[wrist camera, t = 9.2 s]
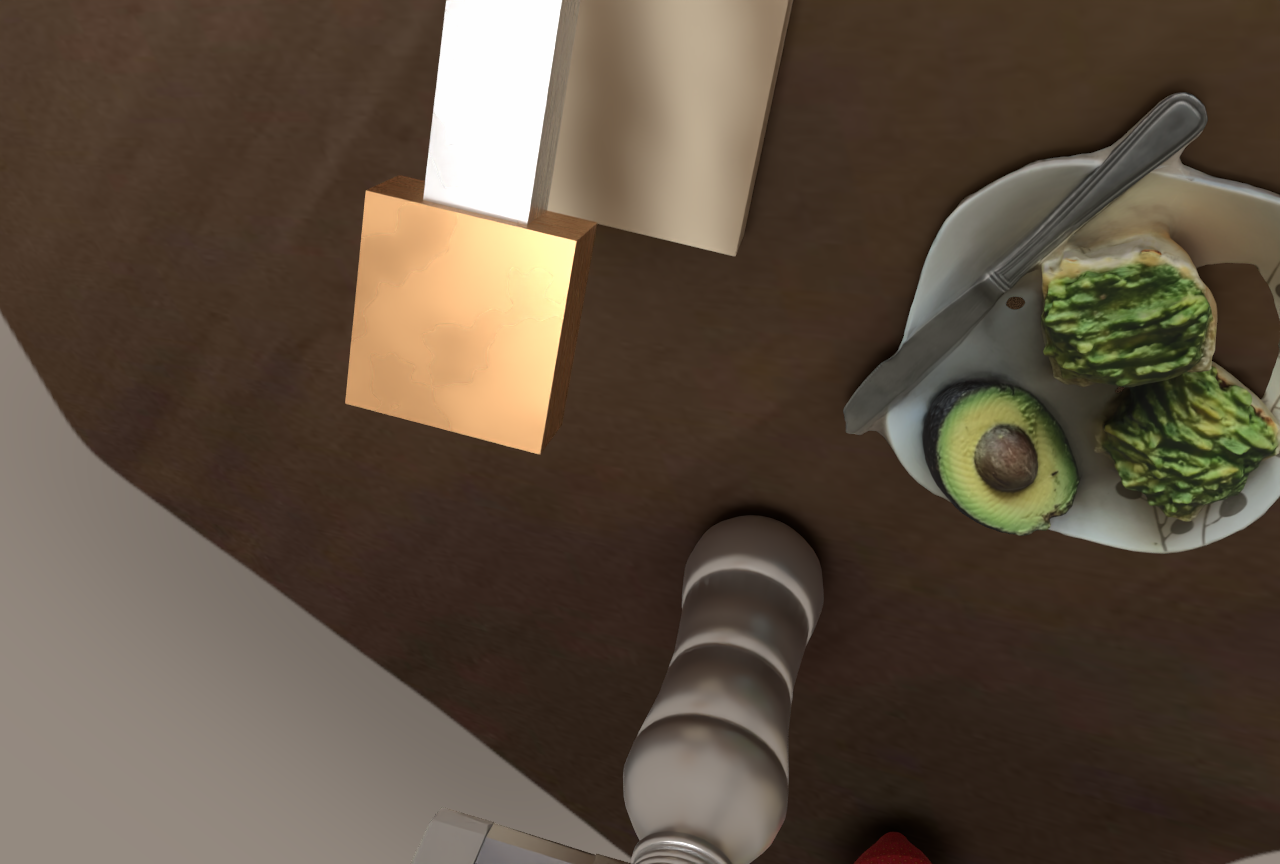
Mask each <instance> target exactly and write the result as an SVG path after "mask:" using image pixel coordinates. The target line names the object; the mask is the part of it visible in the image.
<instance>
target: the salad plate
mask: <svg viewBox="0 0 1280 864" xmlns="http://www.w3.org/2000/svg"><path fill="white" fill-rule="evenodd" d="M1207 121H1208V118H1207V112H1206V109H1205V106H1204V104H1203V103H1202V102H1201V101H1200V100H1199V99H1198V98H1197V97H1195V96H1194V95H1192V94H1190V93H1187V92H1180V93H1175V94H1172V95H1170V96H1168V97H1166V98H1165V99H1163V100H1162V101H1160V102H1159V103H1158V104H1157V105H1156V106H1155V107H1154V108H1153V109H1152V110H1150V111H1149V112H1148V113H1147V114H1146V115H1145V116H1144V117H1143V118H1142V119H1141V120H1140V121H1139V122H1138V123H1137V124H1136V125H1135V126H1134V127H1133V128H1131V129H1130V130H1129V131H1128V132H1127V133H1126V134H1125V135H1124V136H1123V137H1122V138H1121V139H1119V140H1118V141H1117V142H1115V143H1114V144H1113V145H1111V146H1110V147H1107V148H1104V149H1102V150H1099V151H1096V152H1093V153H1086V154H1078V155H1074V156H1070V157H1058V158H1050V159H1044V160H1038V161H1036V162H1033V163H1030V164H1028V165H1026V166H1024V167H1022V168H1021V169H1019V170H1017V171H1014V172H1012V173H1010V174H1007V175H1005V176H1003V177H1002V178H1000V179H998V180H996V181H994V182H992V183H990V184H989V185H987V186H985V187H984V188H982V189H980V190H979V191H978V192H976V193H973V194H971V195H969V196H967V197H966V198H964V199H963V200H962V201H961V202H960V203H959V205H958V206H957V207H956V209H955V210H954V211H953V212H952V213H951V214H950V215H949V217H948V218H947V219H946V220H945V222H944V223H943V225H942V226H941V228H940V230H939V232H938V234H937V236H936V238H935V240H934V242H933V243H932V246H931V248H930V251H929V253H928V255H927V258H926V260H925V263H924V266H923V269H922V271H921V274H920V279H919V283H918V287H917V291H916V294H915V298H914V301H913V304H912V306H911V309H910V313H909V317H908V321H907V325H906V328H905V332H904V337H903V340H902V342H901V344H900V346H899V349H898V351H897V352H896V353H895V354H894V355H893V356H891V357H890V358H889V359H887V360H885V361H884V362H882V363H880V364H879V365H878V367H877V368H876V369H875V370H874V371H873V372H872V373H871V374H870V375H869V376H868V377H867V378H866V379H865V380H864V381H863V382H862V384H861V385H860V387H859V388H858V389H857V390H856V391H855V393H854V394H853V396H852V397H851V399H850V400H849V402H848V403H847V404H846V405H845V407H844V409H843V412H844V418H845V421H846V432H847V433H850V434H857V435H862V434H863V433H865V432H867V431H877V432H878V433H880V434H881V435H882V436H883V437H884V438H885V439H886V441H887V442H888V444H889V445H890V446H891V448H892V449H893V451H894V452H895V454H896V456H897V457H898V459H899V461H900V462H901V464H902V465H903V466H904V468H905V469H906V470H907V471H908V473H909V474H910V475H911V476H912V477H913V478H914V479H915V480H916V481H917V482H918V483H919V484H921V485H922V486H924V487H925V488H926V489H928V490H929V491H930V492H932V493H933V494H935V495H937V496H940V497H943V498H944V499H946V500H948V501H950V502H951V503H952V504H953V505H954V506H955V507H956V508H957V509H958V510H959V511H961V512H962V513H963V514H964V515H966V516H968V517H969V518H971V519H972V520H974V521H975V522H977V523H979V524H981V525H983V526H985V527H988V528H991V529H994V530H996V531H999V532H1004V533H1008V534H1016V535H1020V536H1023V535H1028V534H1031V533H1032V532H1034V531H1036V530H1045V531H1046V530H1053V531H1057V532H1059V533H1062V534H1064V535H1067V536H1071V537H1075V538H1081V539H1085V540H1088V541H1092V542H1095V543H1098V544H1103V545H1107V546H1111V547H1115V548H1120V549H1126V550H1132V551H1137V552H1145V553H1161V554H1167V553H1176V552H1184V551H1188V550H1192V549H1196V548H1200V547H1204V546H1206V545H1208V544H1210V543H1213V542H1215V541H1218V540H1221V539H1223V538H1225V537H1227V536H1229V535H1232V534H1234V533H1235V532H1238V531H1240V530H1243V529H1245V528H1246V527H1248V526H1249V525H1250V524H1252V523H1253V522H1255V521H1256V520H1258V519H1259V518H1260V517H1261V516H1263V515H1264V514H1265V513H1266V511H1267V510H1268V509H1269V508H1270V507H1271V506H1272V505H1273V504H1274V502H1275V501H1276V500H1277V499H1278V498H1279V497H1280V341H1279V344H1278V346H1279V355H1278V358H1277V361H1276V364H1275V367H1274V369H1273V372H1272V376H1271V379H1270V381H1269V384H1268V386H1267V389H1266V391H1265V394H1264V396H1263V397H1262V399H1261V400H1260V399H1259V398H1258V397H1257V396H1256V395H1255V394H1254V393H1253V392H1251V391H1250V390H1249V389H1248V388H1247V387H1246V386H1244V385H1243V384H1242V383H1241V382H1240V381H1239V380H1237V379H1236V378H1235V377H1234V376H1233V375H1232V374H1230V373H1229V372H1228V371H1226V370H1225V369H1224V368H1222V367H1221V366H1219V365H1218V364H1216V363H1215V362H1213V361H1212V356H1213V354H1214V352H1215V343H1216V329H1217V306H1216V302H1215V300H1214V297H1213V295H1212V293H1211V291H1210V289H1209V288H1208V287H1207V286H1206V285H1205V284H1204V283H1203V281H1202V280H1201V279H1200V277H1199V275H1198V272H1197V270H1196V269H1197V268H1198V267H1201V266H1204V265H1207V264H1218V263H1250V264H1254V265H1255V266H1256V267H1257V269H1258V270H1259V272H1260V273H1261V275H1262V276H1263V278H1264V279H1265V281H1266V282H1267V284H1268V285H1269V287H1270V289H1271V292H1272V294H1273V297H1274V303H1275V306H1276V309H1277V313H1278V316H1279V319H1280V195H1279V194H1276V193H1273V192H1271V191H1268V190H1265V189H1262V188H1258V187H1254V186H1251V185H1249V184H1245V183H1240V182H1237V181H1232V180H1227V179H1221V178H1216V177H1213V176H1210V175H1207V174H1205V173H1203V172H1200V171H1198V170H1195V169H1193V168H1190V167H1188V166H1185V165H1183V164H1182V163H1181V160H1180V155H1181V153H1182V151H1183V150H1184V149H1185V147H1186V146H1187V145H1188V144H1190V143H1191V142H1192V141H1193V140H1194V139H1196V138H1197V137H1198V136H1199V135H1200V134H1201V132H1202V131H1203V129H1204V128H1205V125H1206V123H1207ZM1014 296H1015V297H1022V298H1023V299H1024V300H1025V304H1024V306H1023V307H1022V308H1020V309H1016V310H1013V309H1010V308H1009V307H1007V306H1006V302H1007V300H1008V299H1009V298H1010V297H1014ZM1119 386H1122V387H1125V388H1124V390H1123V391H1121V392H1120V393H1116V392H1115V390H1116V389H1117V388H1118V387H1119Z"/></svg>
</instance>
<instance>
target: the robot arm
mask: <svg viewBox="0 0 1280 864" xmlns="http://www.w3.org/2000/svg"><path fill="white" fill-rule="evenodd" d="M411 864H632V863H628V862H624V861H621V860H617V859H613V858H610V857H607V856H603V855H600V854H596V855H594V854H591V853H588V852H584V851H582V850H578V849H575V848H572V847H569V846H565V845H562V844H559V843H556V842H553V841H550V840H546V839H543V838H540V837H536V836H533V835H530V834H527V833H524V832H521V831H517V830H514V829H511V828H508V827H505V826H502V825H498V824H495V823H494V822H491V821H488V820H484V819H481V818H478V817H474V816H471V815H468V814H464V813H460V812H457V811H454V810H451V809H447V808H444V807H441V808H440V810H439V811H438V812H437V814H436V815H435V816H434V818H433V819H432V820H431V822H430V823H429V825H428V827H427V829H426V832H425V834H424V836H423V838H422V840H421V842H420V844H419V846H418V849H417V851H416V853H415V855H414V857H413V859H412V861H411Z"/></svg>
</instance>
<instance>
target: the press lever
mask: <svg viewBox="0 0 1280 864" xmlns="http://www.w3.org/2000/svg"><path fill="white" fill-rule="evenodd" d="M580 1H581V0H446V8H445V17H444V25H443V34H442V42H441V51H440V60H439V68H438V77H437V85H436V94H435V103H434V111H433V120H432V128H431V137H430V145H429V154H428V163H427V171H426V180H425V181H422V180H418V179H413V178H409V177H405V176H401V175H399V176H397V177H394V178H392V179H390V180H388V181H386V182H383V183H381V184H379V185H377V186H375V187H372V188H370V189H368V190H366V196H365V206H364V216H363V226H362V237H361V247H360V257H359V268H358V278H357V288H356V299H355V309H354V319H353V330H352V340H351V350H350V360H349V371H348V381H347V391H346V402H345V403H346V404H350V405H353V406H357V407H361V408H365V409H369V410H372V411H376V412H380V413H384V414H388V415H391V416H395V417H399V418H403V419H407V420H410V421H414V422H418V423H422V424H426V425H429V426H433V427H437V428H441V429H445V430H448V431H452V432H456V433H460V434H464V435H467V436H471V437H475V438H479V439H483V440H486V441H490V442H494V443H498V444H502V445H505V446H509V447H513V448H517V449H521V450H525V451H528V452H532V453H536V454H541V453H542V451H543V450H544V449H545V447H546V446H547V444H548V443H549V442H550V440H551V439H552V437H553V436H554V435H555V433H556V432H557V431H558V429H559V428H560V426H561V425H562V421H563V415H564V409H565V404H566V398H567V392H568V387H569V381H570V375H571V369H572V364H573V358H574V352H575V347H576V341H577V335H578V330H579V324H580V318H581V313H582V307H583V301H584V296H585V290H586V284H587V279H588V273H589V267H590V262H591V256H592V250H593V245H594V239H595V233H596V228H597V222H594V221H589V220H585V219H581V218H577V217H573V216H568V215H564V214H560V213H556V212H552V211H547V209H548V202H549V196H550V190H551V183H552V177H553V171H554V164H555V158H556V152H557V146H558V139H559V133H560V127H561V120H562V114H563V108H564V101H565V95H566V89H567V82H568V76H569V70H570V64H571V57H572V51H573V45H574V38H575V32H576V26H577V19H578V13H579V7H580Z"/></svg>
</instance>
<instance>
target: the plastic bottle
mask: <svg viewBox="0 0 1280 864" xmlns="http://www.w3.org/2000/svg"><path fill="white" fill-rule="evenodd" d="M823 601H824V594H823V580H822V569H821V566H820V562H819V559H818V557H817V556H816V554H815V552H814V550H813V549H812V548H811V546H810V545H809V544H808V543H807V542H806V540H805V539H804V538H803V537H802V536H801V535H800V534H798V533H797V532H796V531H795V530H794V529H792V528H791V527H789V526H788V525H786V524H784V523H783V522H780V521H778V520H775V519H773V518H769V517H764V516H757V515H745V516H738V517H734V518H731V519H727V520H724V521H721V522H719V523H717V524H716V525H714V526H712V527H711V528H710V529H708V530H707V531H706V532H705V533H704V534H703V536H702V537H701V538H700V540H699V541H698V543H697V545H696V546H695V548H694V549H693V551H692V553H691V554H690V556H689V558H688V561H687V563H686V566H685V573H684V581H683V590H682V614H681V619H680V625H679V630H678V636H677V641H676V647H675V652H674V655H673V658H672V660H671V663H670V665H669V669H668V671H667V674H666V676H665V679H664V681H663V684H662V687H661V689H660V692H659V695H658V696H657V698H656V700H655V702H654V704H653V706H652V708H651V710H650V712H649V714H648V716H647V718H646V720H645V721H644V723H643V725H642V727H641V729H640V731H639V733H638V735H637V738H636V739H635V740H634V743H633V745H632V748H631V751H630V753H629V755H628V758H627V760H626V763H625V765H624V774H623V784H624V799H625V804H626V808H627V811H628V814H629V816H630V819H631V822H632V825H633V827H634V829H635V832H636V834H637V836H638V838H639V840H640V841H639V842H638V844H637V845H636V847H635V849H634V852H633V855H632V858H631V863H632V864H749V863H750V862H752V861H753V860H754V859H756V858H757V857H758V856H759V855H761V854H762V853H763V852H764V851H765V850H766V849H767V848H768V847H769V846H770V845H771V843H772V842H773V840H774V838H775V836H776V835H777V833H778V831H779V829H780V828H781V826H782V824H783V822H784V820H785V816H786V811H787V801H788V731H789V722H790V713H791V702H792V696H793V687H794V684H795V680H796V677H797V674H798V670H799V667H800V664H801V660H802V657H803V654H804V650H805V647H806V645H807V643H808V641H809V639H810V637H811V635H812V633H813V631H814V629H815V627H816V624H817V621H818V619H819V616H820V613H821V611H822V606H823Z"/></svg>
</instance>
